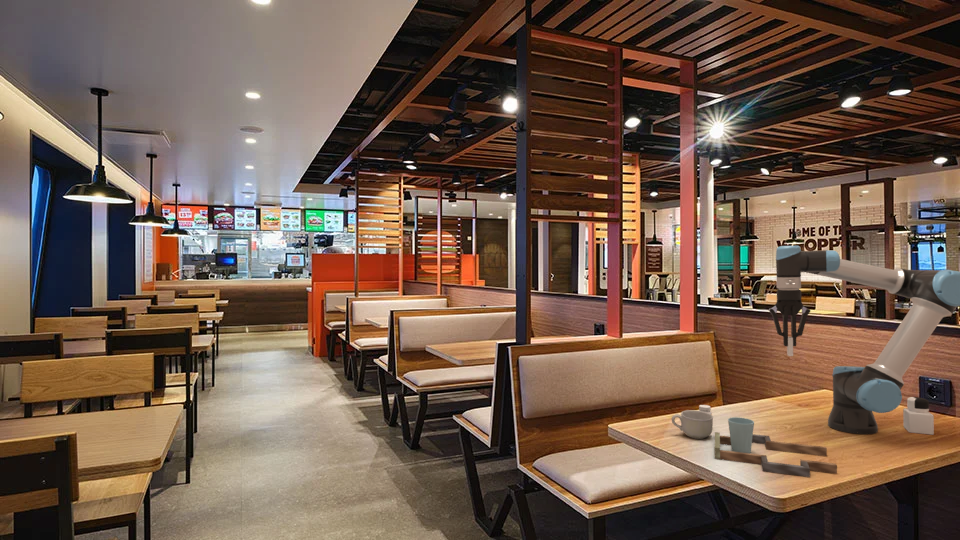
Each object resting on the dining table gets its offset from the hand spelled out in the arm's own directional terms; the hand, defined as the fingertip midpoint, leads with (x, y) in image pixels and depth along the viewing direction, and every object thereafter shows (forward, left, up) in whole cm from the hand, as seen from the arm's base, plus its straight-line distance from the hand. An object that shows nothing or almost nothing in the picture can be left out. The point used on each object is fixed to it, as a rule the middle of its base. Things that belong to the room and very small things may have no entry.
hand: (790, 355), depth 187 cm
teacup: (+32, +12, -29) cm, 45 cm away
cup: (+17, +24, -29) cm, 41 cm away
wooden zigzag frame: (+8, +25, -29) cm, 39 cm away
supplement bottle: (+28, +1, -29) cm, 40 cm away
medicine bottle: (-43, -24, -29) cm, 57 cm away
